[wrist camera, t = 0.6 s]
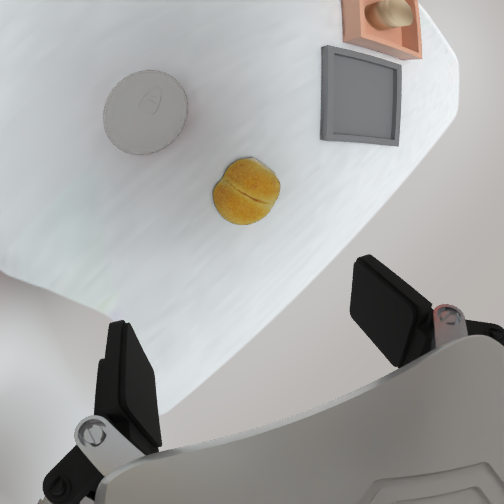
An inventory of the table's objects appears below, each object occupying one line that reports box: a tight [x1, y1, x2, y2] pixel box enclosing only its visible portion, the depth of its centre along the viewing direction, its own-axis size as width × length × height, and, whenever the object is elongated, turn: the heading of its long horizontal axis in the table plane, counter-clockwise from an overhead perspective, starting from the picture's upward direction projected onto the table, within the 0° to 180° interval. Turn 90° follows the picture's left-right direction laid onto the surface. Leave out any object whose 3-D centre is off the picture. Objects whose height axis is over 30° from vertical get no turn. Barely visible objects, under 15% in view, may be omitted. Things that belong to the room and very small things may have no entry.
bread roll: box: [213, 157, 280, 225], centre depth 38 cm, size 8×9×4 cm
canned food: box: [103, 70, 187, 155], centre depth 27 cm, size 8×8×11 cm
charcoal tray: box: [320, 45, 402, 146], centre depth 37 cm, size 14×14×2 cm
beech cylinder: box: [364, 0, 413, 31], centre depth 29 cm, size 5×5×6 cm
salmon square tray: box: [341, 0, 422, 60], centre depth 30 cm, size 13×13×4 cm
